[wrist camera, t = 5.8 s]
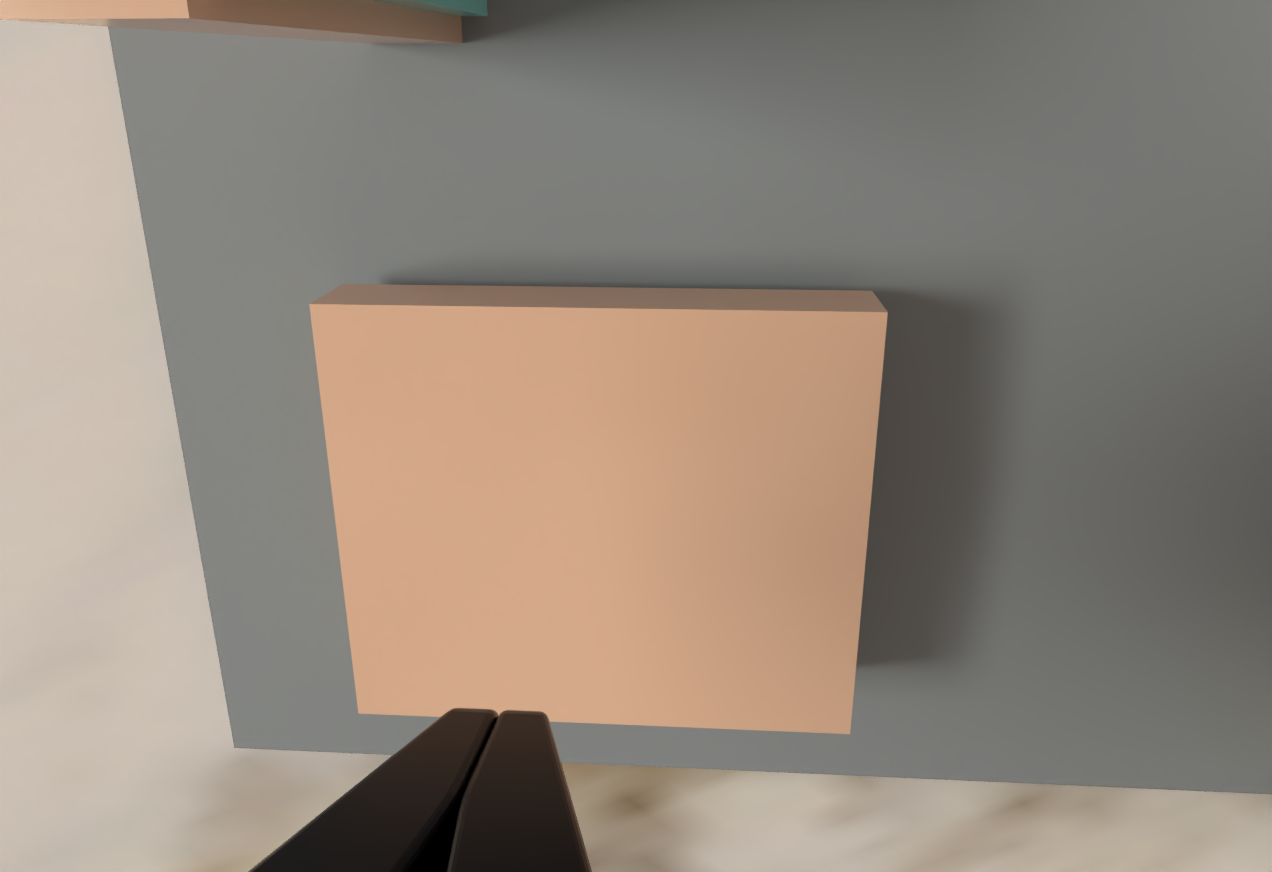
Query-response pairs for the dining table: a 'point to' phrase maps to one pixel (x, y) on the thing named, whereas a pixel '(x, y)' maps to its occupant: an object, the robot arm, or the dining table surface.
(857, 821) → the dining table surface
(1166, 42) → the mat
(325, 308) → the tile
